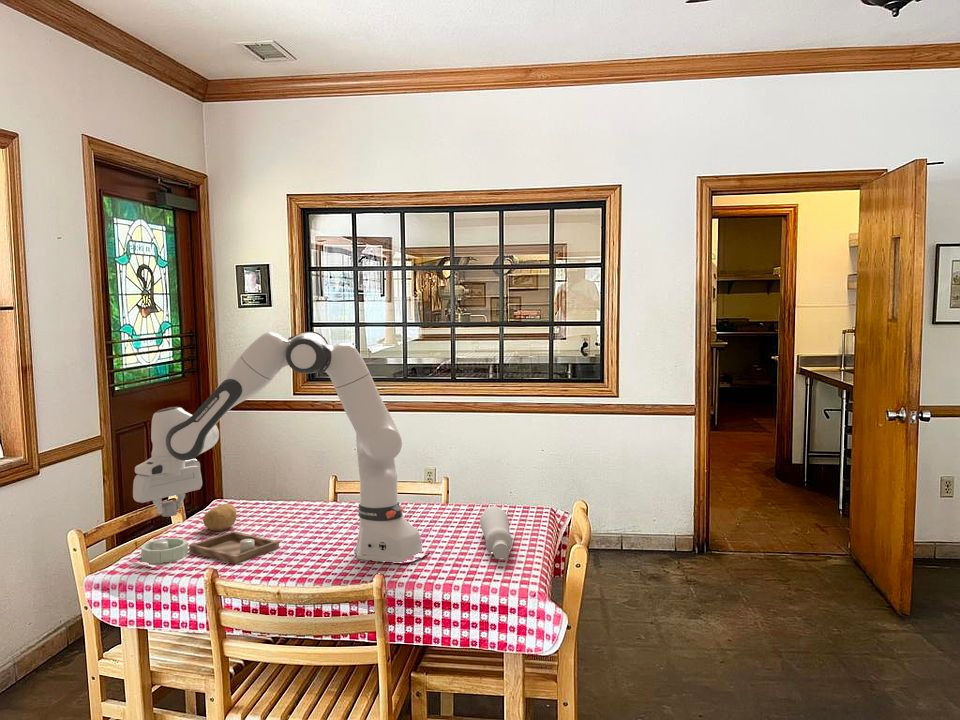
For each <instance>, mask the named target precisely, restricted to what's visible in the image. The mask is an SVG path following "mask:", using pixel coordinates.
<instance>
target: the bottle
mask: <svg viewBox="0 0 960 720" xmlns="http://www.w3.org/2000/svg"><path fill="white" fill-rule="evenodd" d="M479 524H480V530H481V531H482V534H483V537H484V540H485V548H486V549H487V551H488V552H489V551H490V552H493V554H494V557H495V558H496V559H498V558H504V559H506V558H507V557H508V556H509V554H510V551H511V549H512V547H513V538H512V536H511V533H510V520H509V517H508V515H507V513H506V511H504V510H503V509H502V508H500V507H498V506H496V505H495V506H493V505H492V506H488V507H487V508H485V509H484V511H483V512H482V514H481V515H480V516H479ZM509 550H510V551H509ZM490 552H489V553H490ZM493 554H492V555H493Z"/></svg>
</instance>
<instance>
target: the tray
mask: <svg viewBox="0 0 960 720" xmlns="http://www.w3.org/2000/svg"><path fill="white" fill-rule="evenodd" d="M244 539H254V549H251V550H248V551H246V552H243V553H240V541H241V540H244ZM278 549H280V541H278V540H274V539H270V538H265V537H260V536H257V535H252V534H247V533H243V532H238V531H234V530H233V531H230V532H226V533H224V534H221V535H220V534H219V535H218V536H214V537H211V538H208V539H204V540H201V541H198V542H194V543H191V544H189V546H188V553H192V554H196V555H199V556H202V557H203V556H204V557H208V558H212V559H215V560H218V561H219V560H220V561H223V562H227V563H230V564H234V565H237V564H240V563H242V562H245V561H247V560H251V559H253V558H256V557H258V556H261V555H264V554H267V553H270V552H272V551H275V550H278Z"/></svg>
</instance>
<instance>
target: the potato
mask: <svg viewBox="0 0 960 720" xmlns="http://www.w3.org/2000/svg"><path fill="white" fill-rule="evenodd" d="M237 517H238V514H237V509H236V506H234V505H233V504H231V503H222V504H220V505H217V506H214V507H213V508H211V509H209V510H208V511H207V512H206V513H205V514H204V516H203V518H202V522H203V525H204V526H205V528H207V529H208V530H211V531H212V532H221V531H225V530H228V529H229V528H231V527H233V525H234V524H235V522H236V520H237Z"/></svg>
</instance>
